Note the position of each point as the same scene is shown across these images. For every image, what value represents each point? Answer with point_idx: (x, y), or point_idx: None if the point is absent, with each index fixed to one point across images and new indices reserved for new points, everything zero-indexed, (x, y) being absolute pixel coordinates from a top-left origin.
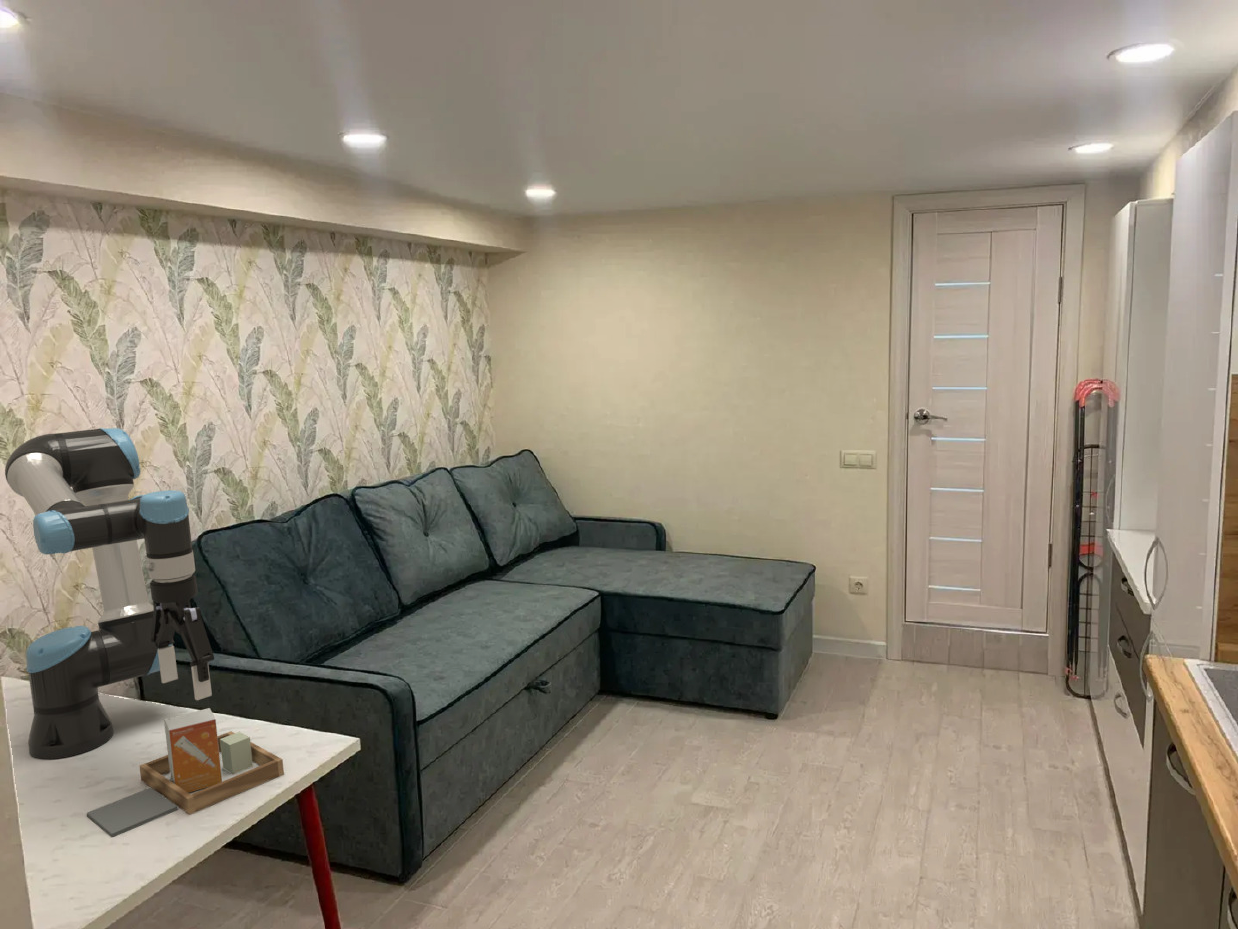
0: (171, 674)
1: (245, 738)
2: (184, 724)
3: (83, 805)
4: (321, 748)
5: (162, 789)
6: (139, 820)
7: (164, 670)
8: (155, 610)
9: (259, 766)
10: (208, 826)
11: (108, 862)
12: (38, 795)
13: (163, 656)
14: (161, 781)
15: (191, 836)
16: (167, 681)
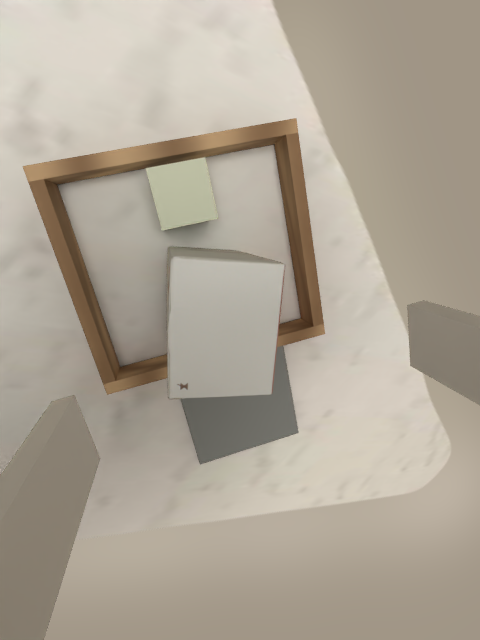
0: (75, 442)
1: (205, 170)
2: (261, 353)
3: (153, 465)
4: None
5: None
6: (286, 396)
7: (77, 498)
8: None
9: (293, 177)
10: (367, 306)
11: (359, 434)
12: None
13: (45, 589)
14: None
15: (376, 333)
16: (93, 443)
